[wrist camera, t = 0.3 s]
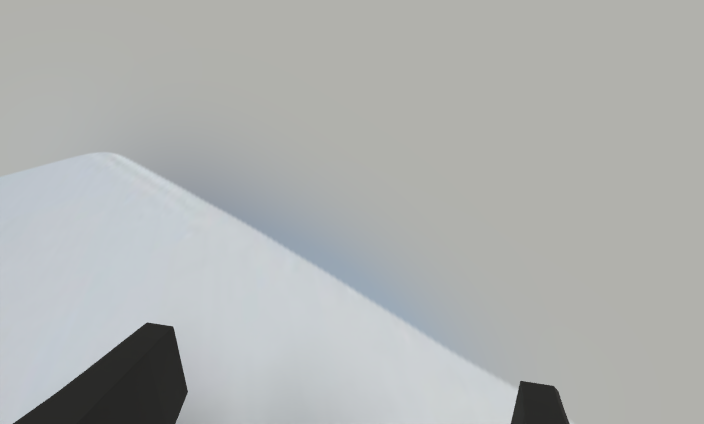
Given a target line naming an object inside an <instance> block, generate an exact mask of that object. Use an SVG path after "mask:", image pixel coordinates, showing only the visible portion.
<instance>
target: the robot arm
mask: <svg viewBox="0 0 704 424" xmlns="http://www.w3.org/2000/svg"><path fill="white" fill-rule="evenodd" d="M187 392H188V391H187V386H186V382H185V377H184V373H183V368H182V364H181V359H180V355H179V350H178V346H177V341H176V337H175V332H174V328H173V327H172V326H166V325H159V324H153V323H146V324H145V325H143V326H142V327H141V328H139V329H138V330H137V331H135V332H134V333H133V334H132V335H130V336H129V337H128V338H127V339H125V340H124V341H123V342H121V343H120V344H119V345H118V346H116V347H115V348H114V349H113V350H111V351H110V352H109V353H107V354H106V355H105V356H104V357H102V358H101V359H100V360H99V361H97V362H96V363H95V364H93V365H92V366H91V367H90V368H88V369H87V370H86V371H84V372H83V373H82V374H81V375H79V376H78V377H77V378H75V379H74V380H73V381H71V382H70V383H69V384H67V385H66V386H65V387H63V388H62V389H61V390H60V391H58V392H57V393H56V394H54V395H53V396H51V397H50V398H49V399H47V400H46V401H44V402H43V403H42V404H40V405H39V406H37V407H36V408H35V409H33V410H32V411H30V412H29V413H27V414H26V415H25V416H23V417H22V418H20V419H19V420H18V421H16V422H15V423H13V424H175V423H176V420H177V418H178V416H179V413H180V410H181V408H182V405H183V403H184V400H185V398H186V395H187ZM511 424H569V421H568V419H567V416H566V413H565V411H564V408H563V405H562V402H561V399H560V395H559V392H558V391H557V389H556V388H555V387H554V386H550V385H544V384H537V383H531V382H524V381H520V386H519V390H518V395H517V399H516V404H515V408H514V412H513V417H512V421H511Z"/></svg>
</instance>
